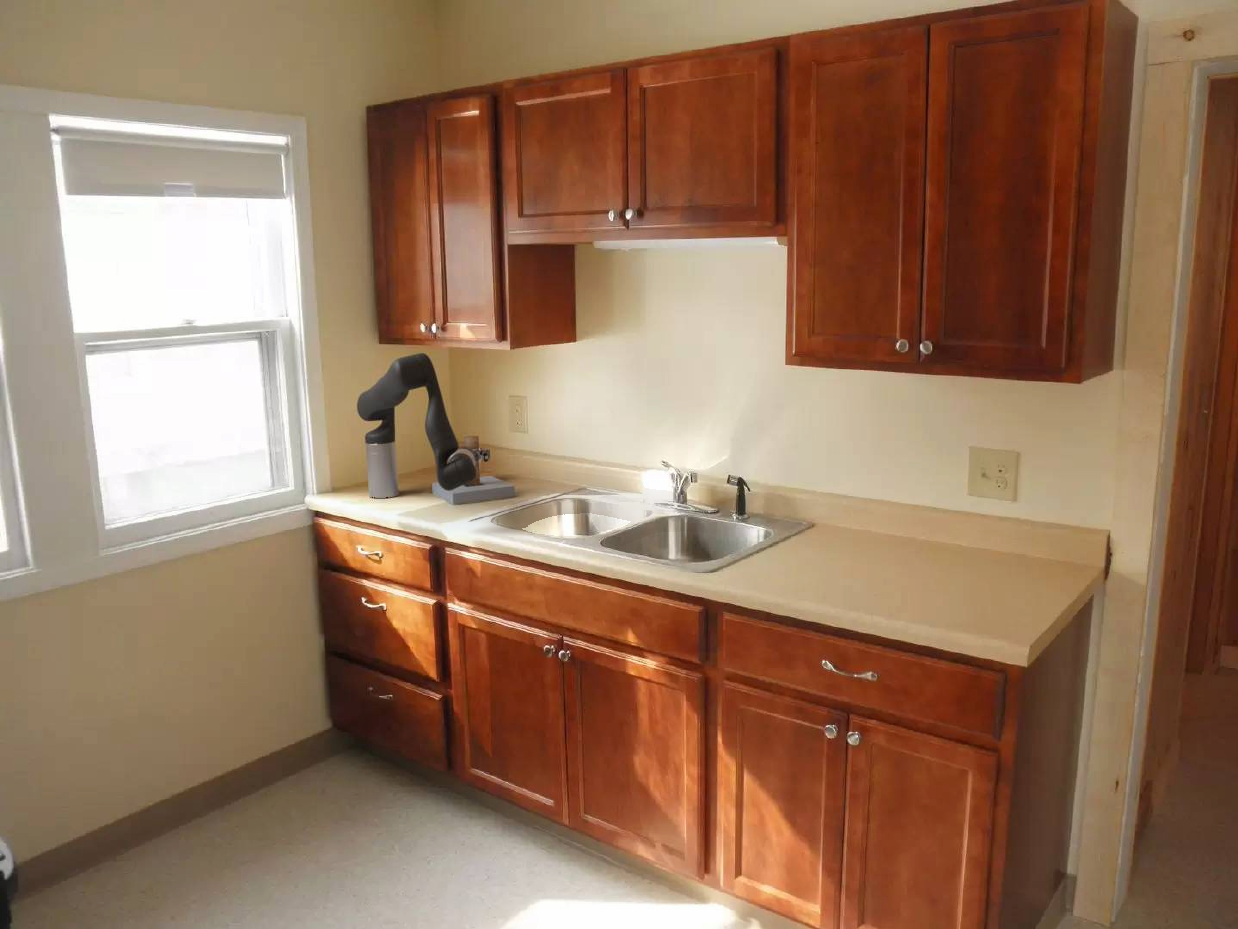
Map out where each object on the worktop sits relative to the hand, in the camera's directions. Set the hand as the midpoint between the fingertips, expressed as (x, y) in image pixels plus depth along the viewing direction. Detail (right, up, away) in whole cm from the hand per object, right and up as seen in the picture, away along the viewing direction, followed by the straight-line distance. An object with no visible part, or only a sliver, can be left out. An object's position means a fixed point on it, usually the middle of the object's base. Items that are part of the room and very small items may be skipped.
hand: (467, 451), depth 310 cm
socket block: (0, -14, +13) cm, 19 cm away
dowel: (0, -13, +13) cm, 19 cm away
